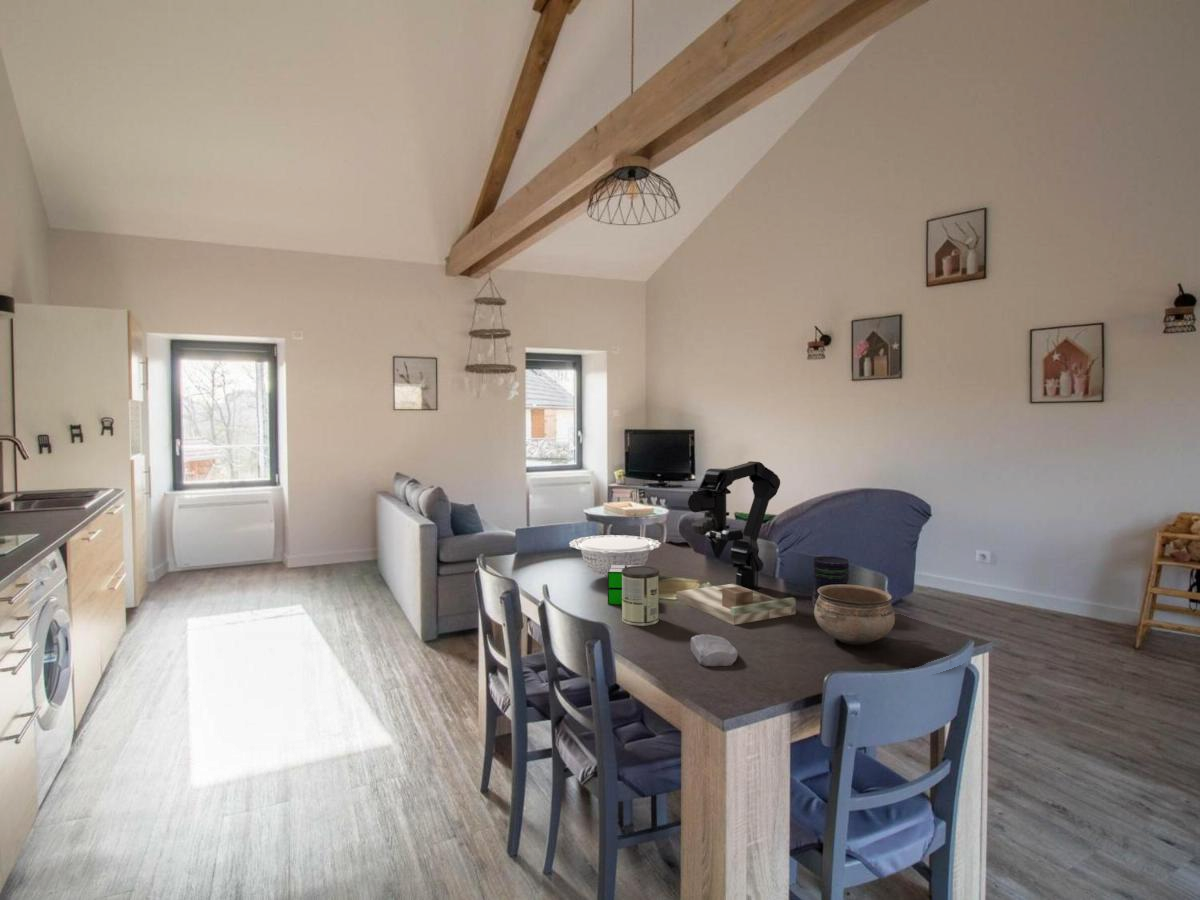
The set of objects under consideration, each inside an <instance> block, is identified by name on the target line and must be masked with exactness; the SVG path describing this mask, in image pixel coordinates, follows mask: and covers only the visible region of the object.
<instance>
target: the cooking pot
mask: <svg viewBox="0 0 1200 900" xmlns="http://www.w3.org/2000/svg"><path fill="white" fill-rule="evenodd" d="M818 593H819V594H820V595H819V597H818V599H817V601H816V604H815V608H814V611H813V615H814V619H815V621H816V623H817V625H818V626H819V627H820V628H821V630H823V631H824V632H825V633H827V634H828V635H830V636H832V637H833V638H834V639H836V640H837V641H839V642H840V643H842V644H844V643H845V644H846V645H848V644H849V645H850V646H854V645H862V646H865V645H868V644H870V643H873V642H876V641H878V640H881V639H883V638H884V637H886V636H888V634H890V632H892V629H893V627H894V626H895V622H896V615H895V612H894V608H893V605H892V603H891V600H892V598H893V595H892V594H890V593H889V592H887V591H885V590H882V589H880V588H876V587H870V586H864V585H857V584H847V585H827V586H823V587H820V588H819V589H818ZM849 645H848V646H849Z"/></svg>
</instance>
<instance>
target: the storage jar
mask: <svg viewBox="0 0 1200 900" xmlns="http://www.w3.org/2000/svg"><path fill="white" fill-rule="evenodd" d="M849 564H850V561H849V560H848V559H846V558H843V557H838V556H826V555H825V556H816V557H814V558H813V567H812V568H813V569H812V570H813V571H812V572H813V573H812V576H813V590H812V605H813V606H812V611H813V612H814V608H815V604H816V601H817V599H818V597H819V595H820V594H819V593H818V589H819V588H820V587H823V586H827V585H849V584H848V582H849V581H850V579H849V578H850V577H849V575H850V565H849Z"/></svg>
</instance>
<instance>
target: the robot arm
mask: <svg viewBox="0 0 1200 900" xmlns="http://www.w3.org/2000/svg"><path fill="white" fill-rule="evenodd" d="M747 477H748V479H749V480H750V482H751V483H752V486H751V487H752V492H753V500H752V503H751V506H750V509H749V513H748V516H747V519H746V522H745V525H744V529H743V530H742V529H739V528H734V527H733V528H730V524H727V517H728V516H730V512H729V511H727V495H729V494H732V491H731V490H730V489H728V487H729V486H731V485H732V484H733V482H735V481H737V480H740V479H744V478H747ZM780 485H781V479H780V478H779V476H778V474H776V473H775V472H774V471H773V470H771V469H770V468H768V467H767V466H766V465H764V464H763V463H762V462H760V461H747V462H745V463H741V464H738V465H735V466H734V465H733V466H731V467H728V468H708V469H707V470H706V471H705V474H704V475H703V478H702V480H701V482H700V484H699V486H698V488H697V489H693V490H692V494H691V495H690V496H689V498H688V500H687V506H688V509H689V510H690V511H691V512H693V513H701V512H702V513H703V512H704V517H702V518H699V519H698V520H696V521H694V522H693V523H691V527H692V532H693V533H694V534H695V535H699V536H703V538H705V539H706V540H707V541H708V542H709V544H710V546H711V549H712V551H713V555H714V558H715V559H720V558H721V556H722V553H723V552H724V549H725V547H726V545H727V543H729V542H732V541H733V543H732V546H731V548H730V550H729V551H730V559H731V562H732V563H731V564H732V567H733V568H736V570H737V571H736V575H735V576H736V577H735V578H736V579H735V580H736V582H735V584H736V585H739V586H741V587H744V588H747V589H750V590H756V589H762V586H761V585H759V572H761V571H763V568H764V562H763V560H762V559H761V558H760V557H759V553H760V549H759V546H758V538H759V535H760V532H761V528H762V525H763V522H764V520H765V519H764V518H765V516H766V513H767V509H768V507H769V506H768V505H769V503H770V501H771V500H772V499H773V498H774V497H775V496H777V493H778V491H779V488H780Z"/></svg>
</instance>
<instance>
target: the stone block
mask: <svg viewBox="0 0 1200 900" xmlns="http://www.w3.org/2000/svg"><path fill="white" fill-rule="evenodd" d="M690 650H691V653H692V654H693V656H694V657H695V659H696V660H697V661H698V663H699V665H701V666H703V667H705V668H706V667H717V666H718V667H719V666H722V667H723V666H724V667H726V666H727V667H729V666H733V664H734V663H735V662H736V660H737V659H738V654H739V653H738V651H737V648H736V647H734V645H732V643H731V642H729V640H727V639H726V638H724V637H723V636H718V635H713V634H706V633H705V634H703V633H702V634H696V635H694V636H692V637H691V638H690Z"/></svg>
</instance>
